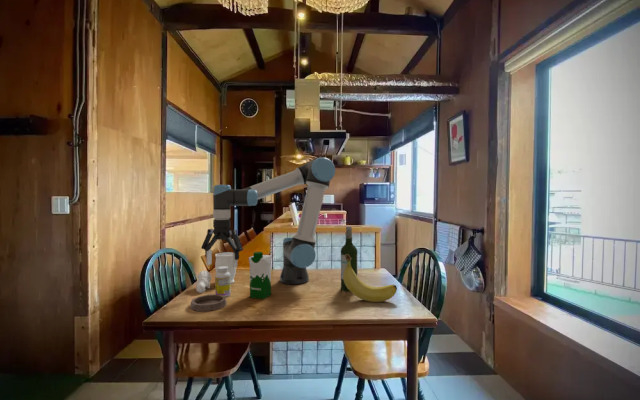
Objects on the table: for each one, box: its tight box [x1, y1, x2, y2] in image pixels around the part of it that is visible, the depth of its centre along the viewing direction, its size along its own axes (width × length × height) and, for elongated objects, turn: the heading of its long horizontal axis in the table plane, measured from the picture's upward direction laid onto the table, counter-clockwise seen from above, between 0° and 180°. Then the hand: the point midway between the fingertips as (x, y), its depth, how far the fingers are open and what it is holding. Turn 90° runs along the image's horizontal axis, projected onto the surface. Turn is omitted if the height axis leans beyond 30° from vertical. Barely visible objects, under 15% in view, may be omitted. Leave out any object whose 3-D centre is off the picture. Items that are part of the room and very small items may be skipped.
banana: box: [343, 254, 398, 303], centre depth 137 cm, size 23×6×20 cm, turn 82°
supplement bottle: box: [214, 266, 232, 298], centre depth 146 cm, size 7×7×13 cm
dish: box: [190, 294, 227, 312], centre depth 133 cm, size 14×14×2 cm
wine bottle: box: [340, 226, 358, 293], centre depth 154 cm, size 8×8×30 cm
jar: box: [214, 251, 237, 284], centre depth 168 cm, size 11×10×15 cm
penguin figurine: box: [195, 270, 212, 294], centre depth 154 cm, size 6×8×12 cm
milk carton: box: [248, 251, 273, 300], centre depth 145 cm, size 9×9×20 cm
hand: (221, 265), depth 146 cm, fingers open, 13 cm apart
